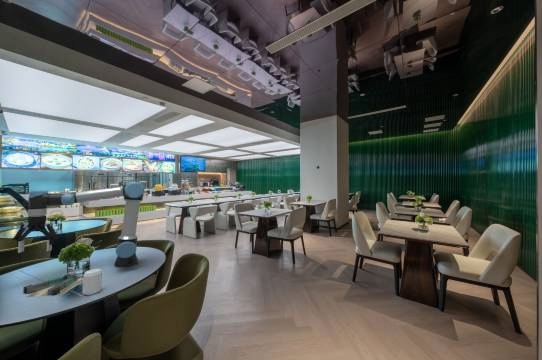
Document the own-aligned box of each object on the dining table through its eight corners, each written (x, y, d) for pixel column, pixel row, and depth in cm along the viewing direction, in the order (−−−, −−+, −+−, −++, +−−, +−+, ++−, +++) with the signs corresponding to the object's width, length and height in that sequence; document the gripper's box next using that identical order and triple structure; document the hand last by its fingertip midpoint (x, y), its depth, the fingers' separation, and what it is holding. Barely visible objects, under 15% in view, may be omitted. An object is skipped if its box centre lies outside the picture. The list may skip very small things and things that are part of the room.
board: (88, 279, 132) (88, 277, 132) (61, 296, 111) (62, 294, 111) (58, 281, 129) (58, 279, 129) (24, 299, 108) (25, 297, 108)
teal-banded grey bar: (82, 278, 130) (83, 273, 131) (55, 295, 110) (55, 289, 111) (70, 279, 129) (71, 274, 129) (40, 296, 109) (41, 290, 109)
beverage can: (90, 289, 120) (91, 268, 120) (104, 288, 121) (105, 268, 121) (78, 296, 112) (79, 274, 112) (93, 295, 112) (94, 273, 113)
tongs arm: (76, 279, 129) (76, 273, 129) (27, 294, 110) (27, 287, 110) (71, 277, 132) (71, 271, 132) (23, 292, 113) (23, 285, 113)
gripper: (66, 214, 130) (65, 248, 129) (17, 215, 123) (14, 250, 123) (57, 216, 122) (55, 251, 121) (4, 217, 116) (2, 254, 115)
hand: (35, 251), depth 122 cm, fingers open, 13 cm apart
